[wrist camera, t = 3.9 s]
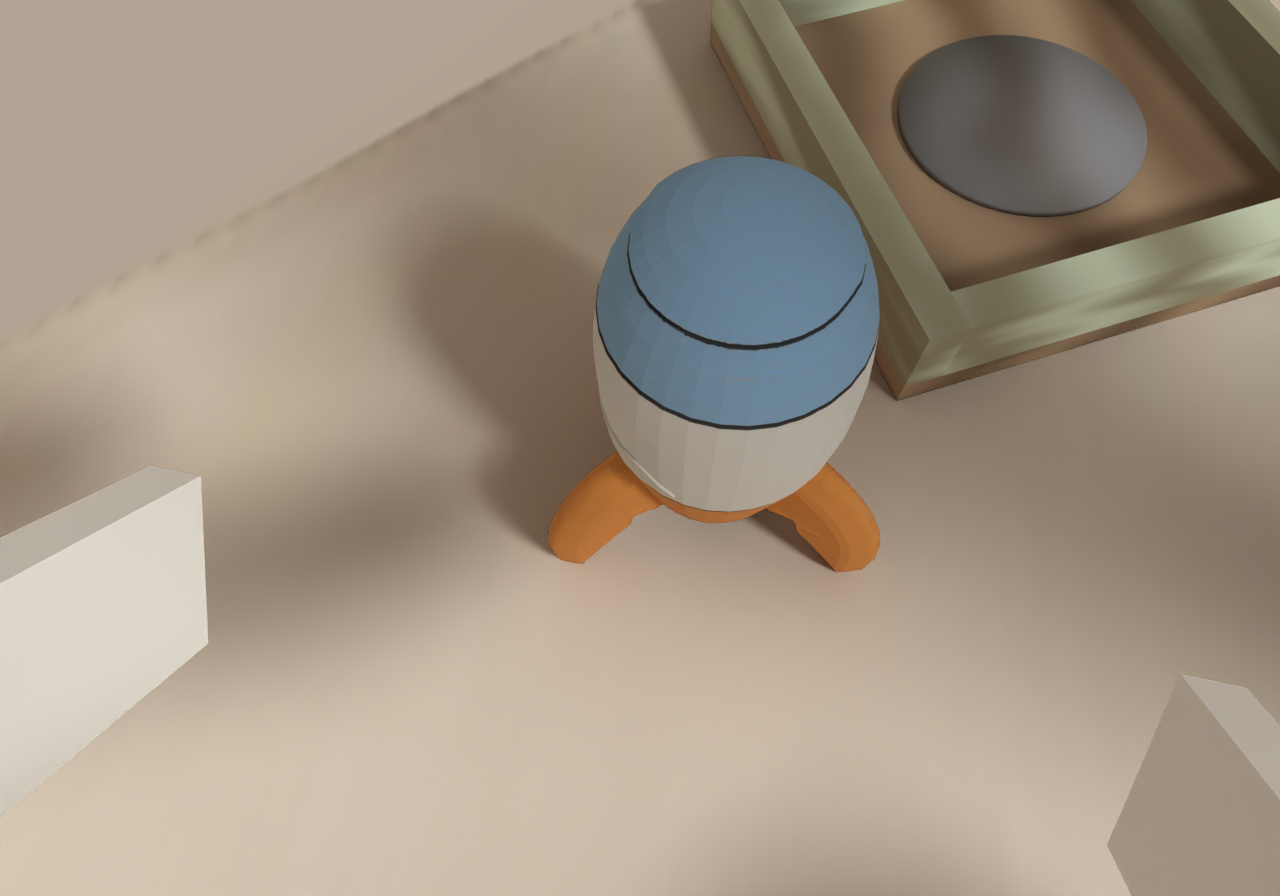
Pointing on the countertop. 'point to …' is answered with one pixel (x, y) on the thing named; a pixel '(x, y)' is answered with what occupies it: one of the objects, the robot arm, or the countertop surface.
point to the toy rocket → (732, 359)
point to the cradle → (1026, 160)
